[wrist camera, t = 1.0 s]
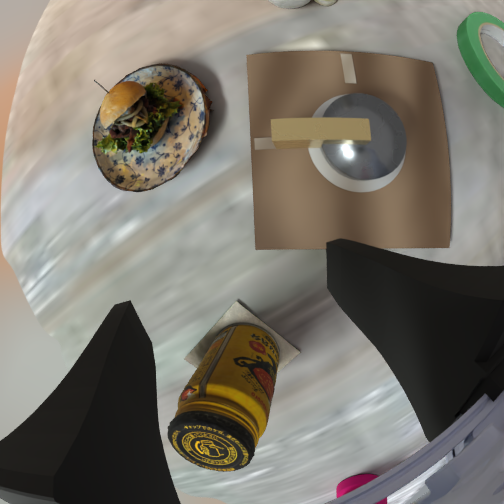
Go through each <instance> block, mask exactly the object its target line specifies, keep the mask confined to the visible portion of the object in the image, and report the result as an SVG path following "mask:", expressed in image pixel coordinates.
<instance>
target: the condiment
mask: <svg viewBox="0 0 504 504" xmlns="http://www.w3.org/2000/svg"><path fill="white" fill-rule="evenodd" d="M300 353H301V352H300V351H298V350H297V349H296V348H295V347H293V346H292V345H291V344H290V343H288V342H287V341H286V340H285V339H284V338H282V337H281V336H280V335H278V334H277V333H276V332H275V331H274V330H272V329H271V328H270V327H268V326H267V325H266V324H265V323H263V322H262V321H261V320H260V319H258V318H257V317H256V316H254V315H253V314H252V313H250V312H249V311H248V310H246V309H245V308H244V307H243V306H242V305H240V304H239V303H238V302H237V301H236V302H235V303H234V304H233V305H232V306H231V307H230V308H229V309H228V311H227V312H226V313H225V314H224V315H223V316H222V317H221V319H220V320H219V321H218V322H217V323H216V324H215V325H214V326H213V327H212V329H211V330H210V331H209V332H208V333H207V334H206V335H205V336H204V338H203V339H202V340H201V341H200V342H199V343H198V344H197V345H196V346H195V347H194V349H193V350H192V351H191V352H190V353H189V354H188V355H187V356H186V358H185V360H186V361H188V362H189V363H190V364H192V365H194V366H195V367H196V368H197V370H196V371H195V373H194V374H193V375H192V377H191V379H190V380H189V382H188V384H187V385H186V386H185V388H184V390H183V392H182V393H181V395H180V397H179V401H178V410H177V412H176V414H175V418H174V419H173V420H172V421H171V422H170V426H168V439H169V441H170V443H171V444H172V446H173V448H174V449H175V450H176V451H177V452H178V453H179V454H180V455H181V456H182V457H184V458H185V459H186V460H188V461H190V462H191V463H193V464H196V465H197V466H200V467H203V468H206V469H210V470H216V471H223V472H224V471H235V470H238V469H241V468H243V467H245V466H247V465H248V464H249V463H250V461H251V460H252V457H253V456H254V452H255V447H256V446H257V444H258V440H259V438H260V437H261V436H262V435H263V433H264V431H265V429H266V426H267V423H268V418H269V413H270V407H271V401H272V397H273V394H274V386H275V383H276V376H277V373H278V372H279V371H280V370H281V369H282V368H283V367H284V366H286V365H287V364H288V363H289V362H290V361H291V360H292V359H294V358H295V357H296V356H297V355H298V354H300Z"/></svg>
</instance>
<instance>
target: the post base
mask: <svg viewBox="0 0 504 504" xmlns="http://www.w3.org/2000/svg"><path fill="white" fill-rule="evenodd" d="M247 73H248V94H249V114H250V136H251V158H252V180H253V202H254V225H255V248H256V250H271V249H326V242H329V241H333V240H336V239H339V238H342V239H347V240H352V241H356V242H360V243H363V244H367V245H370V246H374V247H377V248H449V246H450V227H451V185H450V166H449V153H448V143H447V135H446V127H445V120H444V114H443V108H442V102H441V97H440V92H439V87H438V83H437V79H436V74H435V70H434V67H433V63H431V62H426V61H421V60H416V59H410V58H404V57H398V56H390V55H382V54H373V53H362V52H346V51H288V52H273V53H261V54H252V55H247ZM353 93H363V94H368V95H372V96H375V97H377V98H379V99H381V100H383V101H384V102H386V103H387V104H388V105H389V106H391V107H392V108H393V110H394V111H395V112H396V113H397V114H398V116H399V117H400V119H401V121H402V123H403V125H404V128H405V132H406V139H407V145H406V151H405V155H404V157H403V160H402V161H401V163H400V164H399V166H398V167H397V168H396V169H395V170H394V171H393V172H391V173H390V174H388V175H386V176H384V177H381V178H378V179H374V180H369V181H356V180H352V179H349V178H346V177H344V176H342V175H340V174H339V173H337V172H336V171H335V170H334V169H332V167H331V166H330V165H329V164H328V163H327V161H326V160H325V158H324V157H323V155H322V152H321V149H320V148H295V149H276V147H275V146H274V144H273V142H272V134H271V119H284V118H322V117H323V115H324V112H325V111H326V109H327V108H328V106H329V105H330V104H331V103H332V102H334V101H335V100H336V99H338V98H340V97H342V96H344V95H348V94H353Z"/></svg>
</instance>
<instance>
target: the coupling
mask: <svg viewBox="0 0 504 504" xmlns="http://www.w3.org/2000/svg"><path fill="white" fill-rule="evenodd" d="M271 134H272V142H273V144H274V146H275V147H276V149H295V148H320V149H321V152H322V155H323V157H324V158H325V160H326V161H327V163H328V164H329V165H330V166H331V167H332V169H334V170H335V171H336V172H337V173H339V174H340V175H342V176H344V177H346V178H349V179H352V180H356V181H369V180H374V179H378V178H381V177H384V176H386V175H388V174H390V173H391V172H393V171H394V170H395V169H396V168H397V167H398V166H399V164H400V163H401V161H402V160H403V157H404V155H405V151H406V145H407V139H406V132H405V128H404V125H403V123H402V121H401V119H400V117H399V116H398V114H397V113H396V112H395V111H394V110H393V108H392V107H391V106H389V105H388V104H387V103H386V102H384V101H383V100H381V99H379V98H377V97H375V96H372V95H368V94H363V93H353V94H348V95H344V96H342V97H340V98H338V99H336V100H335V101H334V102H332V103H331V104H330V105H329V106H328V108H327V109H326V111H325V112H324V115H323V117H322V118H284V119H271Z"/></svg>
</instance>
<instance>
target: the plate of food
mask: <svg viewBox="0 0 504 504" xmlns="http://www.w3.org/2000/svg"><path fill="white" fill-rule="evenodd" d="M94 81H95V80H94ZM95 82H96V81H95ZM96 83H97V82H96ZM98 85H100V84H99V83H98ZM100 86H101V85H100ZM101 87H102V88H103V86H101ZM103 89H104V88H103ZM104 90H105V91H106V92H107V95H106V96H105V98H104V100H103V102H102V105H101V106H100V108H99V111H98V114H97V116H96V119H95V122H94V126H93V140H92V141H93V142H92V146H93V153H94V157H95V160H96V162H97V165H98V169H99V170H100V172H101V173H102V174H103V176H104V177H105V179H107V181H108V182H109V183H111V184H112V185H113V186H114V187H116V188H118V189H120V190H123V191H133V192H143V191H147V190H151V189H154V188H156V187H158V186H160V185H162V184H164V183H166V182H168V181H170V180H172V179H173V178H175V177H176V176H177V175H178V174H179V173H180V171H181V170H182V169H183V167H184V166H185V165H186V163H187V162H188V161H189V159H190V158H191V157H192V155H193V154H194V153H195V152H196V151H197V150H198V148H199V145H200V143H201V141H202V139H203V138H204V136H206V135H207V131H208V127H209V115H210V111H212V110H210V109H209V108H210V105H211V103H212V101H210V99H209V98H208V97H207V96H206V95H205V93H206V91H208V90H207V89H206V88H205V87H204V86H203V84H202V83H201V82H200V80H199V79H198V78H197V77H195V76H193V75H192V74H191V73H189V72H187V71H186V70H184V69H181V68H179V67H177V66H174V65H169V64H154V65H151V66H146V67H142V68H139V69H138V70H136V71H134V72H132V73H130V74H128V75H126V76H125V77H124V78H123V79H122V80H120V81H119V82H118V83H117V84H116V85H115V86H114V87H113V88H112V89H111V90H110V91H109V92H108V91H107V90H106V89H104Z"/></svg>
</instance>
